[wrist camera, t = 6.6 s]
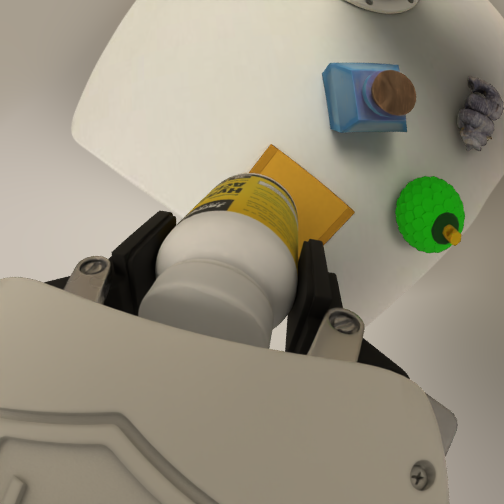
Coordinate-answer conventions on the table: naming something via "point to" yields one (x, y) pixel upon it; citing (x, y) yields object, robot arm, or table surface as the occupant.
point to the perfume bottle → (367, 97)
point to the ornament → (430, 214)
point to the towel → (305, 197)
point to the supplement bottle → (229, 263)
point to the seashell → (479, 114)
